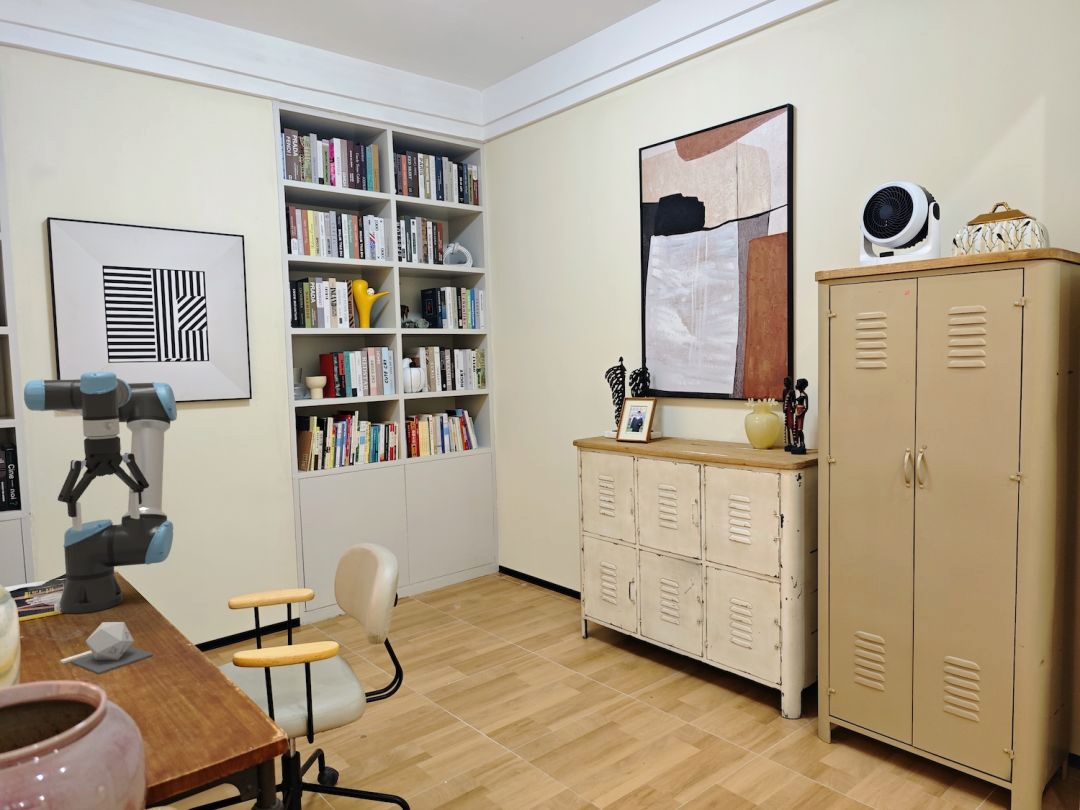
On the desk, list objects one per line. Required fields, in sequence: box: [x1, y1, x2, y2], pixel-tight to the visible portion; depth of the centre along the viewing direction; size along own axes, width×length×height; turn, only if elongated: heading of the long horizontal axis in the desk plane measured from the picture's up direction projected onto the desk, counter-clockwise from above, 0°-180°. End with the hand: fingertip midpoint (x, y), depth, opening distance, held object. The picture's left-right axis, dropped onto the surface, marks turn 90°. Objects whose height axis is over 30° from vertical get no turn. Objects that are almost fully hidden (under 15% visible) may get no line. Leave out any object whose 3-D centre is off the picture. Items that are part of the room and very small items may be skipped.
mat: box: [59, 645, 154, 675], centre depth 171 cm, size 14×15×1 cm
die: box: [85, 621, 135, 660], centre depth 170 cm, size 8×9×10 cm
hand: (107, 524), depth 181 cm, fingers open, 13 cm apart
